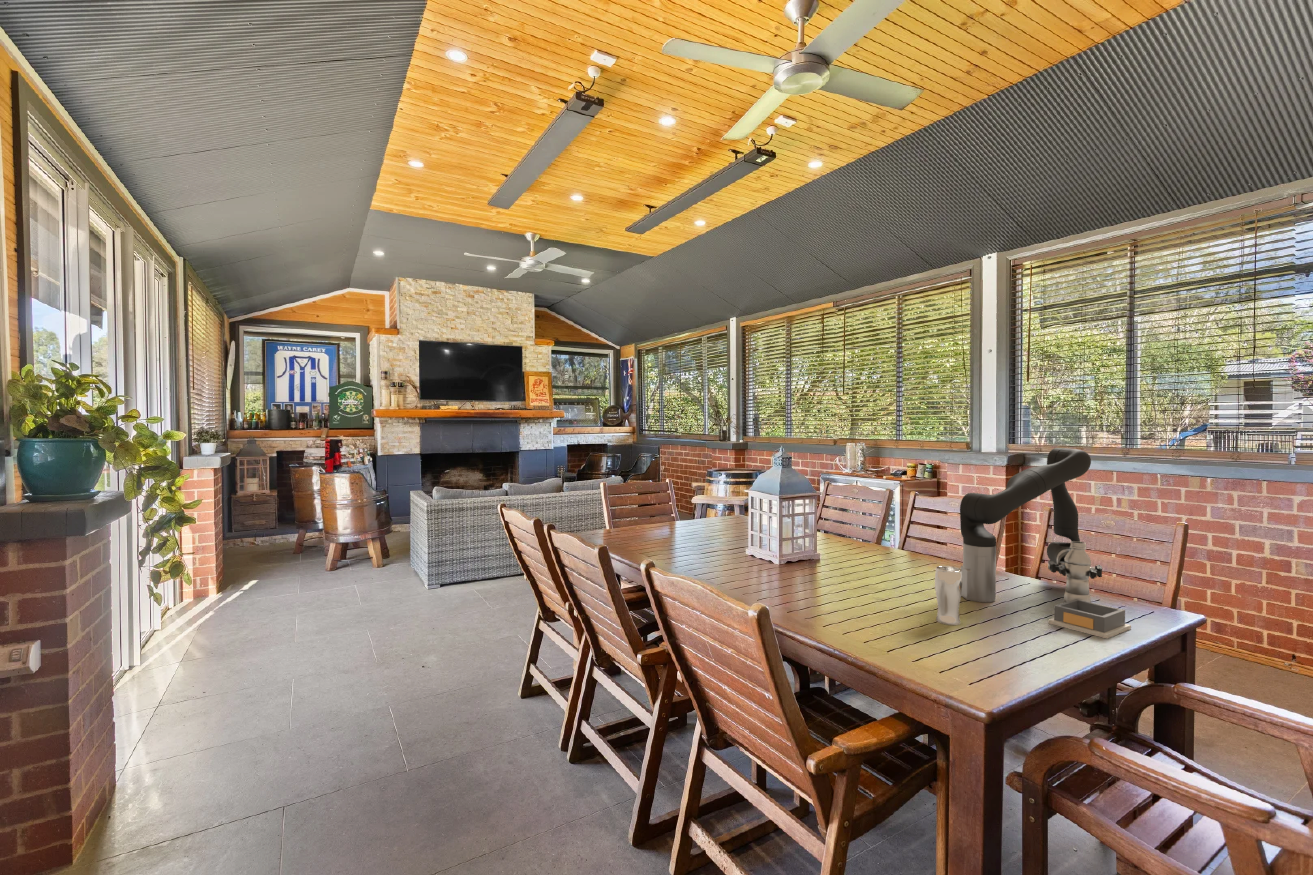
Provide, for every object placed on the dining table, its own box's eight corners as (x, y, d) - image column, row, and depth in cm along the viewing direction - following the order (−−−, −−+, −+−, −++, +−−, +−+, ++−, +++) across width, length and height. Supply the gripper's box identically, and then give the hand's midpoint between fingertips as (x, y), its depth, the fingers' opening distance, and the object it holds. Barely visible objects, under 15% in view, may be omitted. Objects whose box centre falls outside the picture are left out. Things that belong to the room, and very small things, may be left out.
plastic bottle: (1095, 612, 175) (1096, 544, 175) (1069, 611, 177) (1070, 543, 176) (1084, 606, 182) (1085, 540, 181) (1059, 604, 183) (1060, 539, 182)
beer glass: (961, 619, 169) (962, 566, 169) (962, 627, 163) (963, 572, 163) (934, 616, 172) (934, 564, 172) (934, 623, 166) (934, 569, 165)
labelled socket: (1107, 638, 154) (1107, 619, 154) (1048, 623, 166) (1048, 605, 166) (1130, 628, 162) (1131, 610, 162) (1073, 614, 174) (1073, 597, 173)
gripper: (1044, 548, 195) (1049, 558, 180) (1099, 553, 188) (1109, 564, 173) (1044, 571, 195) (1049, 583, 180) (1098, 576, 188) (1108, 589, 173)
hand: (1078, 573), depth 177 cm, fingers closed on plastic bottle, 6 cm apart
